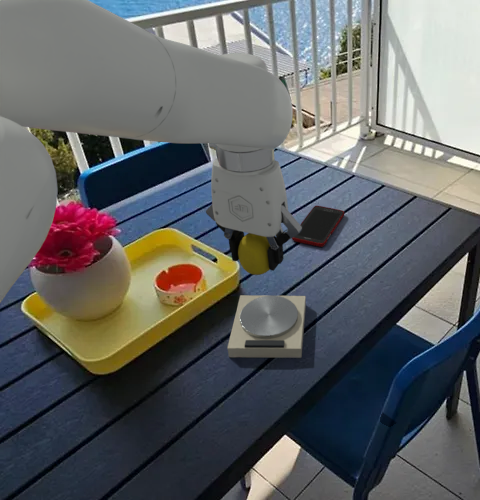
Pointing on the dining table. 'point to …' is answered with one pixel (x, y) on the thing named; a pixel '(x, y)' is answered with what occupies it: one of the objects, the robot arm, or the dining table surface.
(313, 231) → the cell phone
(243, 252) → the lemon
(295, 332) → the scale
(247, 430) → the dining table surface
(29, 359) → the dining table surface
